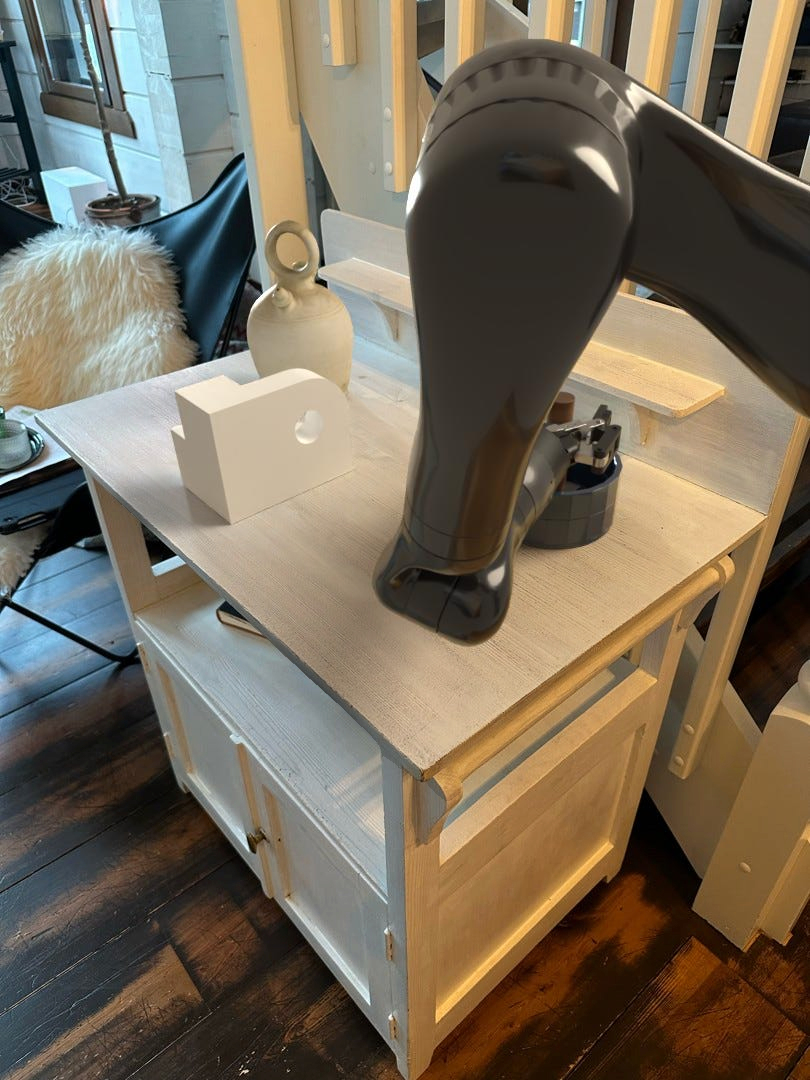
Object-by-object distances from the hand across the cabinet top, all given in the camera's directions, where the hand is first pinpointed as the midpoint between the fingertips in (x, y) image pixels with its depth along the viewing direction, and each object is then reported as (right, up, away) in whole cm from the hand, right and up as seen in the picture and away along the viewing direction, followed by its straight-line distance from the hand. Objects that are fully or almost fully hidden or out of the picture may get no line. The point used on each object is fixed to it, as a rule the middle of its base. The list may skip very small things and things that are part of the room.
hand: (563, 405), depth 81 cm
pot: (0, -11, +7) cm, 13 cm away
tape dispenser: (-34, -7, +16) cm, 38 cm away
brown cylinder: (0, -11, +7) cm, 13 cm away
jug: (-32, +8, +35) cm, 48 cm away
